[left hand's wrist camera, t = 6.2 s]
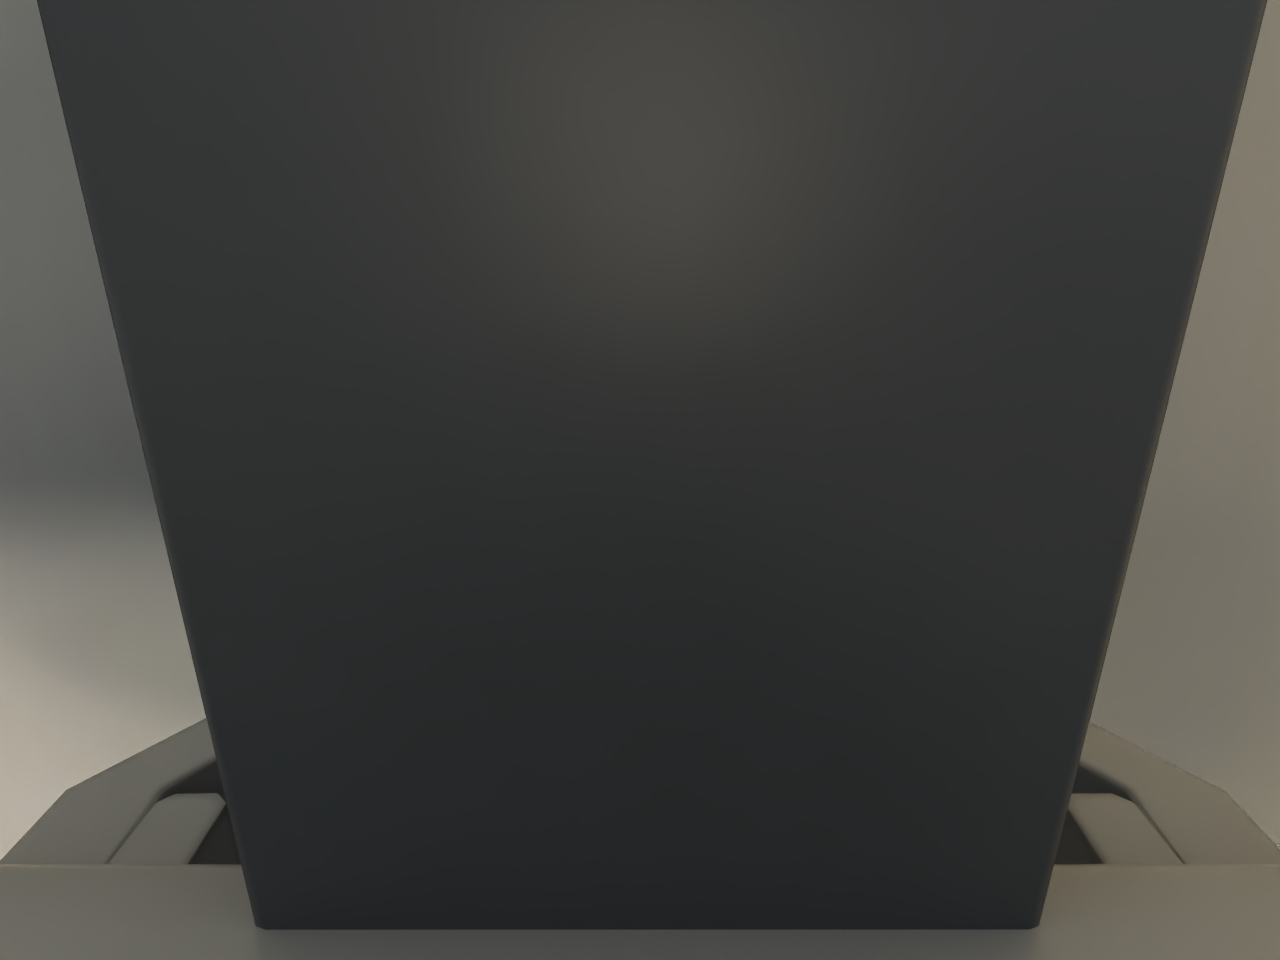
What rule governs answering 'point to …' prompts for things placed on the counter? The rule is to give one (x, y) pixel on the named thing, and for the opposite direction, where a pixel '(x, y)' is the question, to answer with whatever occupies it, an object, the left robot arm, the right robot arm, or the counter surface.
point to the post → (649, 430)
